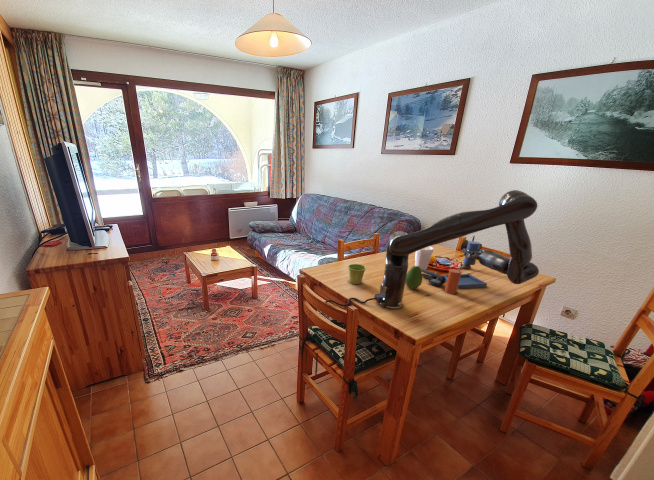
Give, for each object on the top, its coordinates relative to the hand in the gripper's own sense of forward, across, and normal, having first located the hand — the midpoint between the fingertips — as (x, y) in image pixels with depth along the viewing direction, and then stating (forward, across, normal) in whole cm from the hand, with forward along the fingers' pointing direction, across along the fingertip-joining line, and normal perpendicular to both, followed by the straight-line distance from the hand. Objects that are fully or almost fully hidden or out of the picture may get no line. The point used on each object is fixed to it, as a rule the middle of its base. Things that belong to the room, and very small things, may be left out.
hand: (468, 250), depth 159 cm
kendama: (+19, -16, +18) cm, 31 cm away
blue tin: (-3, 0, +6) cm, 7 cm away
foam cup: (+22, +11, +18) cm, 30 cm away
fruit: (-5, +30, +18) cm, 36 cm away
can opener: (+3, +15, +18) cm, 24 cm away
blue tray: (-1, 0, +18) cm, 18 cm away
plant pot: (+6, +56, +18) cm, 59 cm away
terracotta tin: (-11, +14, +18) cm, 25 cm away
